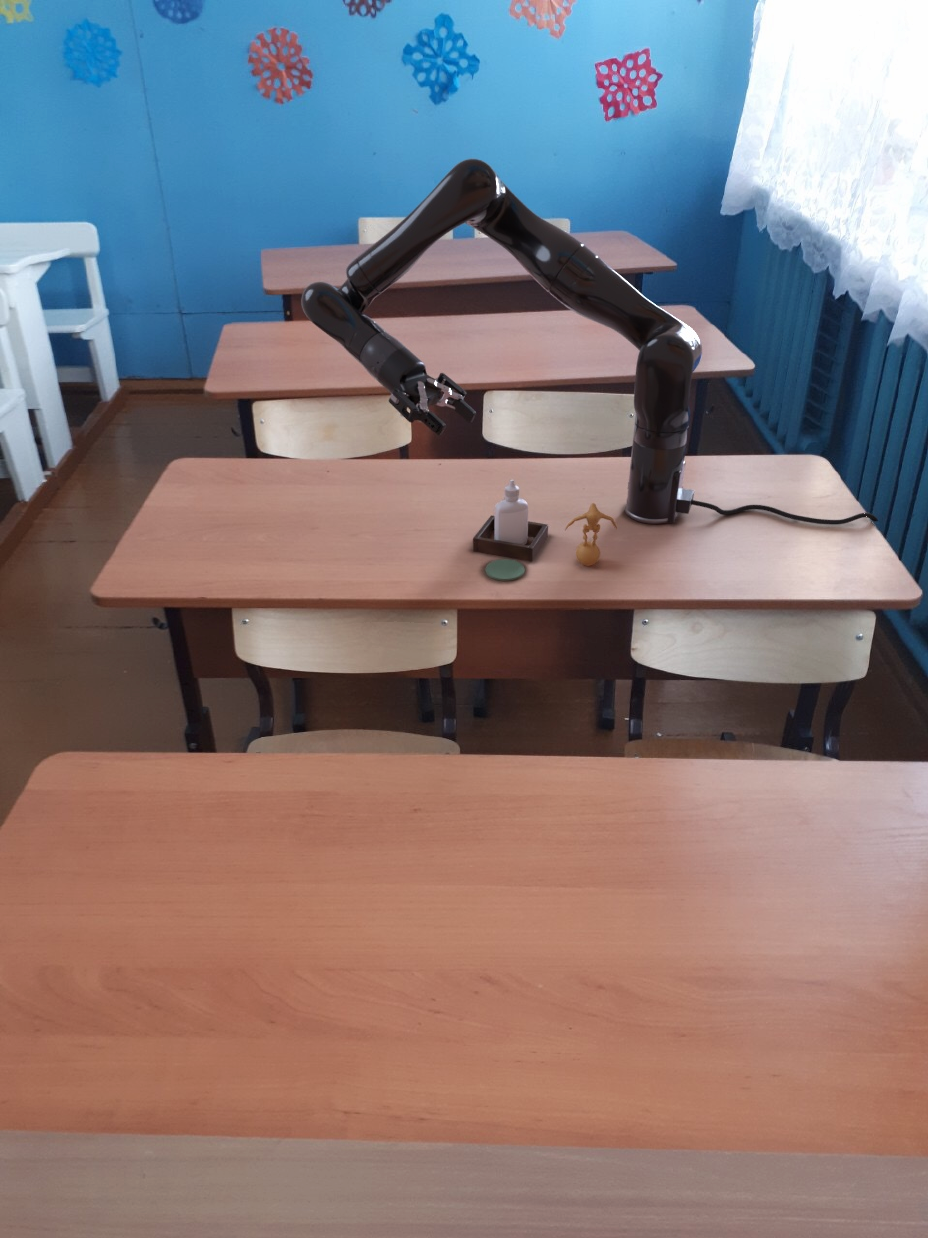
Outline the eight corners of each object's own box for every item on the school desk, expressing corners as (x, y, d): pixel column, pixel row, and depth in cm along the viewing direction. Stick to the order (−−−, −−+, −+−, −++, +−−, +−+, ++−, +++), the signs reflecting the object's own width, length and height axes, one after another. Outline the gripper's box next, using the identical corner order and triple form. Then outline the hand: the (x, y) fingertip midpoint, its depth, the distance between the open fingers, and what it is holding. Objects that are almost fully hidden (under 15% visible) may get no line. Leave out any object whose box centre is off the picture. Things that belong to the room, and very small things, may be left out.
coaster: (529, 564, 145) (529, 562, 145) (517, 583, 140) (517, 581, 140) (493, 558, 147) (493, 556, 147) (480, 576, 142) (480, 574, 142)
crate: (547, 537, 153) (548, 524, 152) (532, 561, 146) (532, 548, 145) (490, 527, 156) (491, 515, 155) (473, 551, 149) (472, 538, 148)
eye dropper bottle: (525, 551, 149) (527, 486, 142) (493, 548, 150) (493, 484, 143) (528, 539, 152) (530, 475, 146) (496, 536, 153) (497, 473, 147)
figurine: (610, 557, 147) (616, 492, 140) (615, 575, 142) (622, 509, 135) (560, 558, 147) (564, 493, 140) (564, 576, 142) (568, 510, 135)
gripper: (371, 354, 143) (440, 417, 139) (426, 339, 153) (491, 397, 149) (357, 391, 148) (424, 452, 145) (411, 373, 158) (474, 430, 154)
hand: (458, 424), depth 147 cm, fingers open, 8 cm apart
